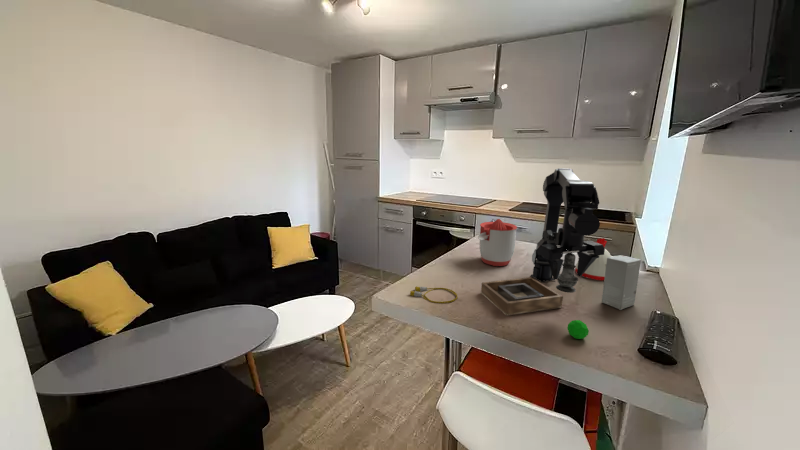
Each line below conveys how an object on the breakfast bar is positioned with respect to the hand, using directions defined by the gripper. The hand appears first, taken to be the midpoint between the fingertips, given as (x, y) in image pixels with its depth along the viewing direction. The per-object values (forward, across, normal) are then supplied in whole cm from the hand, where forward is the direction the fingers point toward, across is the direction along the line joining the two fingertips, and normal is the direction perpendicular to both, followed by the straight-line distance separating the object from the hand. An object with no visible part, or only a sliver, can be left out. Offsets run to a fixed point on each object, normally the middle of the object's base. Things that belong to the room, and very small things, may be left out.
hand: (567, 277), depth 95 cm
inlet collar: (+13, +6, -13) cm, 19 cm away
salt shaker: (+4, 0, 0) cm, 4 cm away
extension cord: (+14, +32, -24) cm, 42 cm away
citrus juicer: (+13, -5, -48) cm, 50 cm away
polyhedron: (+13, +4, +10) cm, 17 cm away
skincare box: (+13, -24, -3) cm, 27 cm away
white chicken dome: (+13, -38, -26) cm, 48 cm away
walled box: (+13, +6, -13) cm, 19 cm away
